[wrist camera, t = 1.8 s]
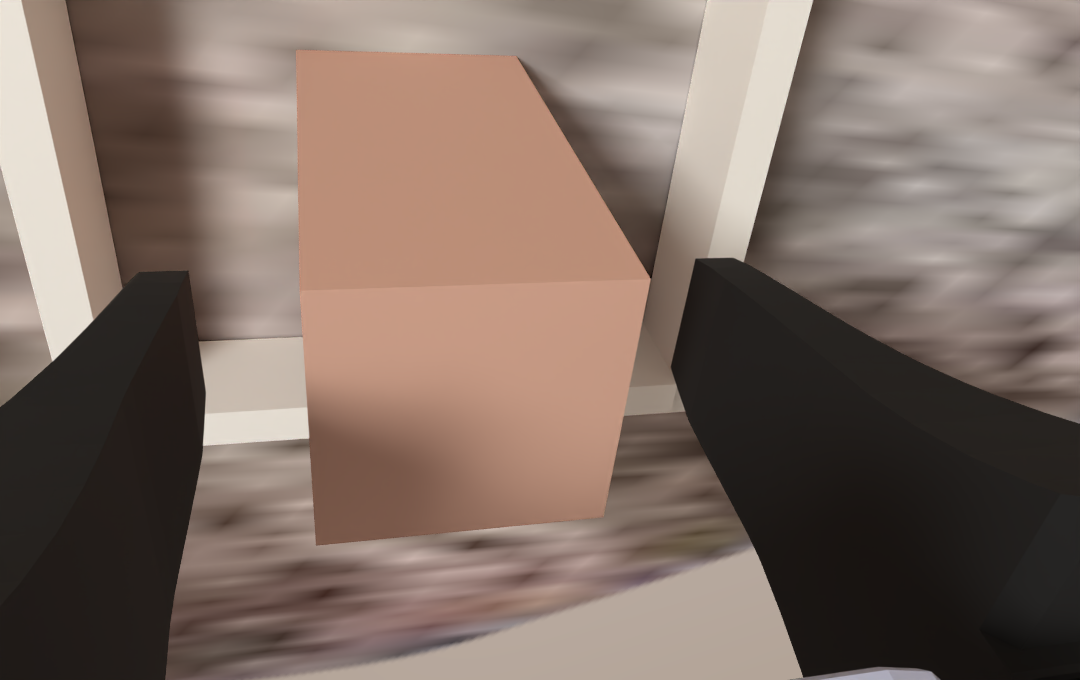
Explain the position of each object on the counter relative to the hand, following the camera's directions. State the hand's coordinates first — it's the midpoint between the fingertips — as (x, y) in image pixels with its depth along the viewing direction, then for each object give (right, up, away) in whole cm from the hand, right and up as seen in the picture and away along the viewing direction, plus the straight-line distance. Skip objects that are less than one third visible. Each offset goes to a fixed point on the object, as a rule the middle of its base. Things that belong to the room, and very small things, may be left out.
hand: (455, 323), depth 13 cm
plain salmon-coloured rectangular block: (-1, +3, +5) cm, 6 cm away
